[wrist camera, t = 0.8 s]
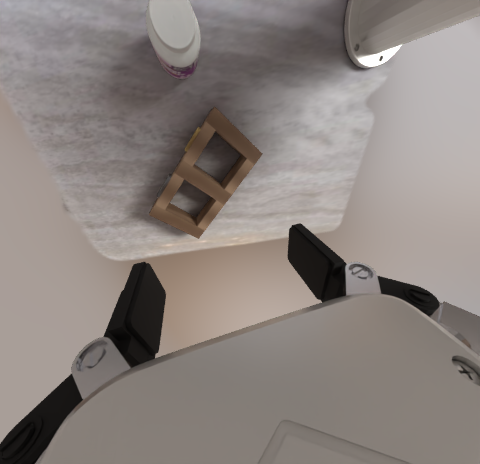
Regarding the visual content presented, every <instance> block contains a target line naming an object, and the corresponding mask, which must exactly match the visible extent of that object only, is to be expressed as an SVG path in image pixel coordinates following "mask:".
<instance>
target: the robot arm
mask: <svg viewBox="0 0 480 464" xmlns="http://www.w3.org/2000/svg"><path fill="white" fill-rule="evenodd" d="M479 15H480V0H349V1H348V5H347V10H346V16H345V26H344V34H345V44H346V49H347V52H348V54H349V57H350V58H351V60H352V61H353V63H355V64H356V65H357V66H359V67H361V68H372V67H375V66H378V65H381V64H382V63H384V62H386V61H387V60H388V59H389V58H391V57H392V56H393V55H394V54H395V53H396V51H397V50H398V49H399V48H400V46H401V45H403V44H405V43H408V42H411V41H413V40H416V39H418V38H421V37H424V36H426V35H429V34H431V33H434V32H437V31H440V30H442V29H445V28H448V27H450V26H453V25H456V24H458V23H461V22H463V21H466V20H469V19H472V18H474V17H477V16H479ZM288 260H289V262H290V263H291V265H292V266H293V267H294V269H295V270H296V271H297V273H298V274H299V275H300V277H301V278H302V279H303V280H304V282H305V283H306V284H307V286H308V287H309V289H310V290H311V291H312V292H313V294H314V295H315V297H316V298H317V299H319V300H321V301H322V303H319V304H316V305H313V306H310V307H307V308H303V309H301V310H298V311H295V312H291V313H288V314H285V315H282V316H279V317H276V318H273V319H270V320H267V321H264V322H261V323H258V324H255V325H252V326H249V327H246V328H243V329H240V330H237V331H234V332H231V333H228V334H225V335H222V336H219V337H216V338H213V339H210V340H207V341H204V342H201V343H198V344H195V345H192V346H189V347H187V348H183V349H181V350H178V351H175V352H172V353H169V354H167V355H164V356H161V357H158V358H155V354H156V353H158V351H159V345H160V337H161V329H162V322H163V313H164V305H165V299H166V294H165V290H164V288H163V287H162V285H161V283H160V281H159V280H158V278H157V276H156V274H155V272H154V271H153V269H152V267H151V266H150V264H149V263H145V262H141V263H137V264H134V265H133V267H132V270H131V272H130V275H129V278H128V280H127V283H126V285H125V288H124V290H123V291H122V292H121V294H120V297H119V299H118V302H117V304H116V307H115V309H114V312H113V314H112V317H111V319H110V322H109V324H108V327H107V329H106V332H105V334H104V337H102V338H98V339H96V340H94V341H92V342H90V343H89V344H88V345H86V346H85V347H84V348H83V349H82V350H81V351H80V352H79V354H78V355H77V356H76V358H75V360H74V361H73V364H72V367H71V370H72V374H71V375H70V376H69V377H68V378H66V379H65V380H64V381H63V382H62V383H61V384H60V385H59V386H58V387H57V388H56V389H55V390H54V391H52V392H51V393H50V394H49V395H48V396H47V397H46V398H45V399H44V400H43V401H42V402H41V403H40V404H38V405H37V406H36V407H35V408H34V409H33V410H32V411H31V412H30V413H29V414H28V415H27V416H26V417H25V418H24V419H22V420H21V421H20V422H19V423H18V424H17V425H16V426H15V427H14V428H13V429H12V430H11V431H10V432H9V433H8V435H7V436H6V437H5V438H4V440H3V441H2V442H1V444H0V464H480V317H479V316H477V315H475V314H472V313H470V312H468V311H465V310H463V309H461V308H458V307H456V306H453V305H451V304H449V303H447V302H443V303H440V302H439V301H438V300H437V298H436V297H435V296H434V295H433V294H431V293H430V292H429V291H427V290H425V289H423V288H421V287H418V286H415V285H410V284H407V283H403V282H399V281H396V280H392V279H388V278H384V277H380V276H377V274H376V272H375V270H373V268H371V267H370V266H368V265H366V264H363V263H360V262H351V263H348V264H346V263H345V262H344V260H343V259H342V258H340V257H339V256H338V255H337V254H336V253H335V252H333V251H332V250H331V249H330V248H329V247H328V246H326V245H325V244H324V243H323V242H322V241H321V240H319V239H318V238H317V237H316V236H315V235H314V234H313V233H311V232H310V231H309V230H308V229H307V228H306V227H304V226H303V225H302V224H296V225H292V227H291V228H290V229H289V244H288Z"/></svg>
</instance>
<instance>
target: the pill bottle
mask: <svg viewBox="0 0 480 464" xmlns="http://www.w3.org/2000/svg"><path fill="white" fill-rule="evenodd" d="M146 25H147V31H148V35H149V38H150V41H151V43H152V45H153V48H154V50H155V52H156V55H157V57H158V59H159V61H160V63H161V65H162V66H163V68H164V69H165V70H166V71H167V72H168V73H169V74H170V75H171V76H173V77H175V78H178V79H185V78H188V77H189V76H191V75H192V74H193V72H194V71H195V69H196V65H197V61H198V56H199V50H200V44H201V37H200V29H199V25H198V21H197V18H196V16H195V14H194V12H193V9H192V6H191V4H190V2H189V0H149V3H148V6H147V10H146Z"/></svg>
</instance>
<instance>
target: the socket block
mask: <svg viewBox="0 0 480 464" xmlns="http://www.w3.org/2000/svg"><path fill="white" fill-rule="evenodd" d="M214 132H216V133H217V134H218V135H219V136H220V137H221V138H222V139H223V140H225V141H226V142H227V143H228V144H229V145H230V146H231V147H232V148H233V149H235V150H236V151H237V152H238V153H239V154H240V155H241V156H240V157H239V159H238V160H237V161H236V163H235V164H234V166H233V167H232V168H231V170H230V171H229V173H228V174H227V175H226V177H225V178H224V180H223V181H222V182H221V183H220V182H218V181H217V180H216V179H214V178H213V177H212V176H210V175H209V174H207V173H206V172H205V171H203V170H202V169H201V168H199V167H198V166H196V165H195V162H196V161H197V159H198V157H199V156H200V154H201V153H202V151H203V150H204V148H205V146H206V145H207V143H208V142H209V140H210V139H211V137H212V135H213V134H214ZM185 151H186V152H185V154H184V155H183V157H182V159H181V160H180V162H179V164H178V165H177V167H176V169H175V170H174V172H173V173H172V174H169V176H168V177H167V179H166V181H165V182H164V184H163V186H162V187H161V189H160V191H159V192H158V195H157V196H158V198H157V200H156V201H155V203H154V205H153V206H152V209H151V211H150V213H149V215H150V216H152V217H154V218H156V219H158V220H161V221H163V222H165V223H167V224H169V225H171V226H173V227H175V228H177V229H179V230H181V231H184V232H186V233H188V234H190V235H192V236H194V237H196V238H198V239H199V238H200V236H201V235H202V234H203V232H204V231H205V230H206V228H207V227H208V226H209V224H210V223H211V222H212V220H213V219H214V218H215V216H216V215H217V214H218V212H219V211H220V210H221V209H222V207H223V206H224V205H225V203H226V202H227V201H228V199H229V198H230V197H231V195H232V194H233V193H234V191H235V190H236V189H237V187H238V186H239V185H240V183H241V182H242V181H243V179H244V178H245V177H246V175H247V174H248V173H249V171H250V170H251V169H252V167H253V166H254V165H255V163H256V162H257V161H258V159H259V158H260V157H261V155H262V153H261V152H260V151H259V150H258V149H257V148H256V147H255V146H254V145H253V144H252V143H251V142H250V141H249V140H248V139H247V138H246V137H245V136H244V135H243V134H242V133H241V132H240V131H239V130H238V129H237V128H236V127H235V126H234V125H233V124H232V123H231V122H230V121H229V120H228V119H227V118H226V117H225V116H224V115H223V114H222V113H221V112H220V111H219V110H218V109H217V108H216V107H214V108H212V109H211V111H210V113H209V114H208V116H207V117H206V119H205V121H204V122H203V124H202V126H201V127H200V128H199V127H197V129H196V131H195V132H194V134H193V136H192V137H191V139H190V141H189V142H188V144H187V146H186V147H185ZM184 180H186V181H187V182H189V183H191V184H192V185H194V186H195V187H197V188H198V189H200V190H201V191H203V192H204V193H206V194H208V195H209V196H211V198H210V199H209V201H208V202H207V203H206V205H205V206H204V208H203V209H202V210H201V212H200V213H199V215H198V216H197V217H195V216H193V215H191V214H189V213H187V212H185V211H184V210H182V209H180V208H178V207H176V206H174V205H173V204H171V203H170V201H171V200H172V198H173V197H174V195H175V193H176V192H177V190H178V189H179V187H180V186H181V184H182V182H183V181H184Z"/></svg>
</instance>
